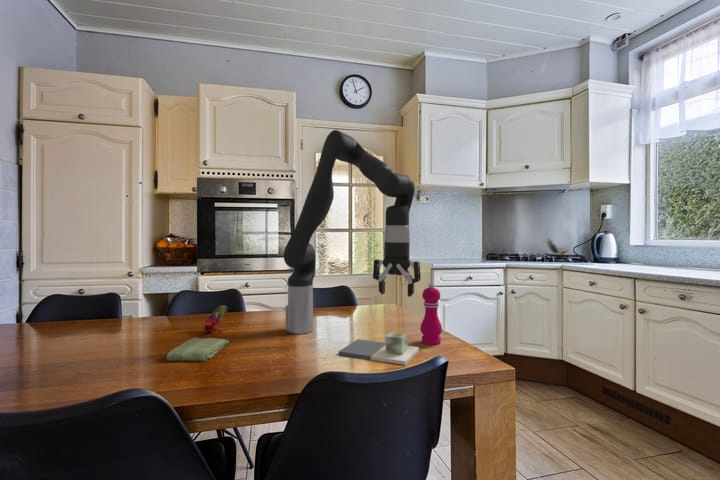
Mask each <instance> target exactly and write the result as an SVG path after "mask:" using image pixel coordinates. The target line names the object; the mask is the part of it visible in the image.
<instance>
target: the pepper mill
mask: <svg viewBox="0 0 720 480" xmlns="http://www.w3.org/2000/svg"><path fill="white" fill-rule="evenodd" d="M421 297H422V300H423V307H424V309H425V310H424V311H425V312H424V317H423V319H422V320H421V321H422V322H421V324H420V329H419V330H420V333H421V334H422V336H421V343H422V344H424V345H429V346H435V345H436V346H437V345H440V344H441V343H442V342H441V341H442V340H441V339H442V338H441V336H440V335H441V334H442V333H443V327H442V324H441V321H440V319H439V316H438V308H439V307H440V305H439V303H440V302H439V301H440V299H441V292H440V290H439V289H438V288H436V287H435V284H434V283H433V282H430V283H428V287H426V288H424V290H423V291H422V294H421Z"/></svg>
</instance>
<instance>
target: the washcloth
mask: <svg viewBox="0 0 720 480" xmlns="http://www.w3.org/2000/svg"><path fill="white" fill-rule="evenodd" d="M228 344H230V342H229V340H228V339H224V338H223V339H222V338H216V337H213V338H212V337H207V338H199V337H193V338H191V339H187V340H186V341H184V342H182V343H181V344H180V345H179V346H177V347H174V348H173V349H171V350H170V351H169V352H168V353H167V355H166V357H165V358H166V360H167V361H168V362H176V361H177V362H185V361H189V362H190V361H191V362H207V361H209V360H211V359H212V358H213V357H215V356H216V355H217V354H218V353H219V352H220V351H221V350H222V349H224V348H225V347H226V346H227V345H228Z"/></svg>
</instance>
